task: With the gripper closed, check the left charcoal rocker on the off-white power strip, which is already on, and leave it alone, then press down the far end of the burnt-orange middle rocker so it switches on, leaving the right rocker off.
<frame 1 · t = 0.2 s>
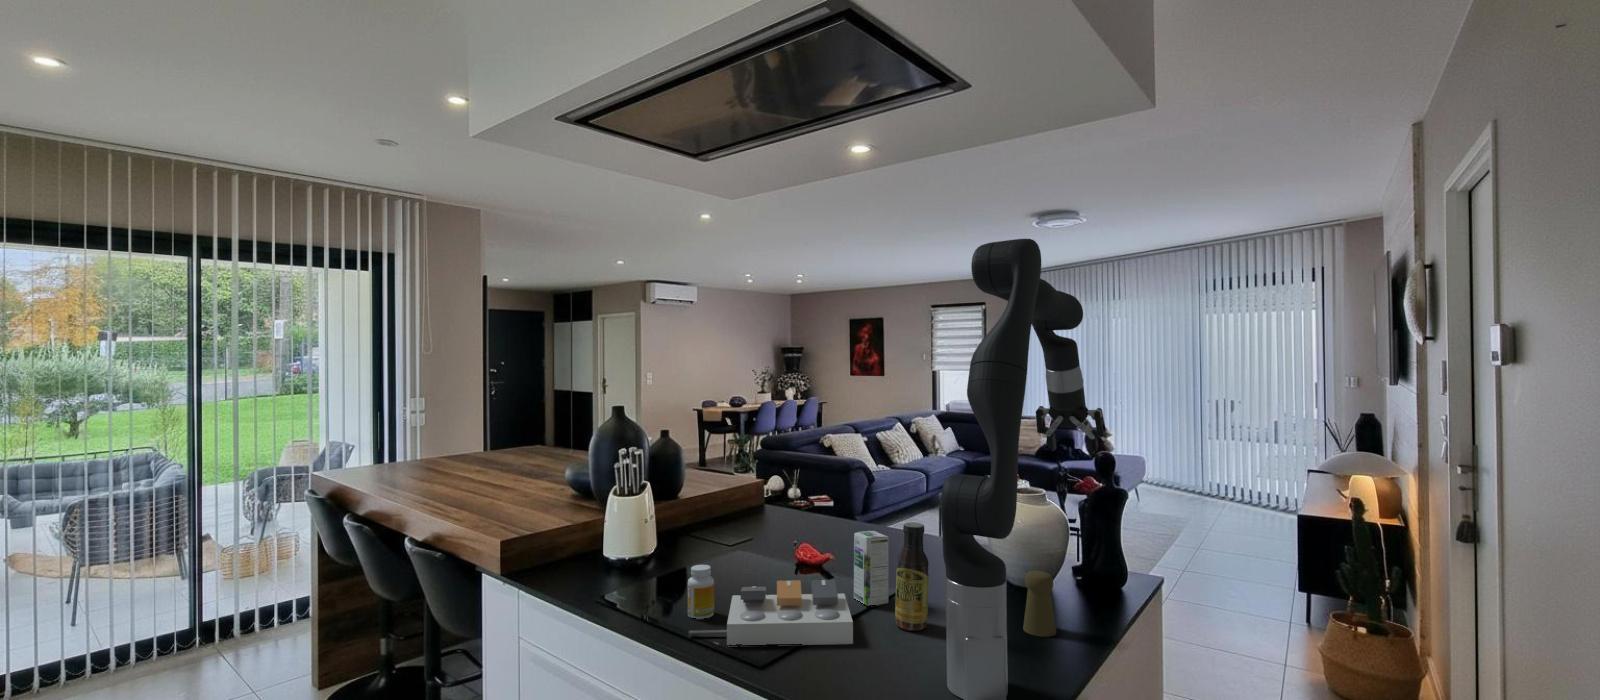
hand: (1073, 450, 148), 31 cm above the worktop, tool tilted 20°, fingers open, 8 cm apart
power strip: (789, 628, 126), on the worktop
supplement bottle: (700, 616, 133), on the worktop
syrup box: (871, 602, 140), on the worktop
yellow pepper mill: (1039, 631, 124), on the worktop
rocker a: (753, 595, 128), point 6 cm above the worktop, hinge at 12.0°
sauce bottle: (912, 627, 127), on the worktop
rocker c: (824, 594, 129), point 6 cm above the worktop, hinge at -12.0°
rocker b: (789, 594, 128), point 6 cm above the worktop, hinge at -12.0°
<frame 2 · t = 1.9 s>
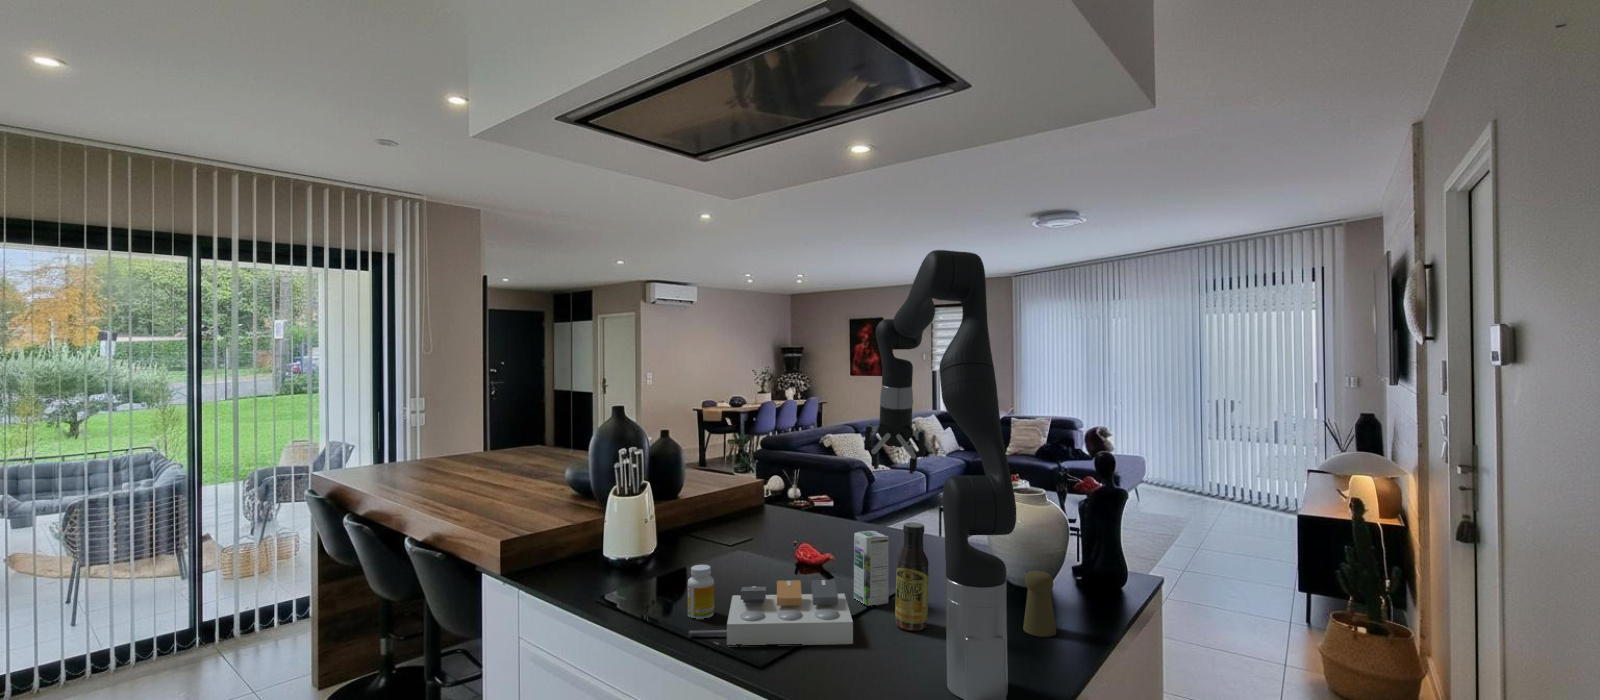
hand: (893, 470, 154), 26 cm above the worktop, tool pointing down, fingers open, 8 cm apart
nothing on the worktop moved.
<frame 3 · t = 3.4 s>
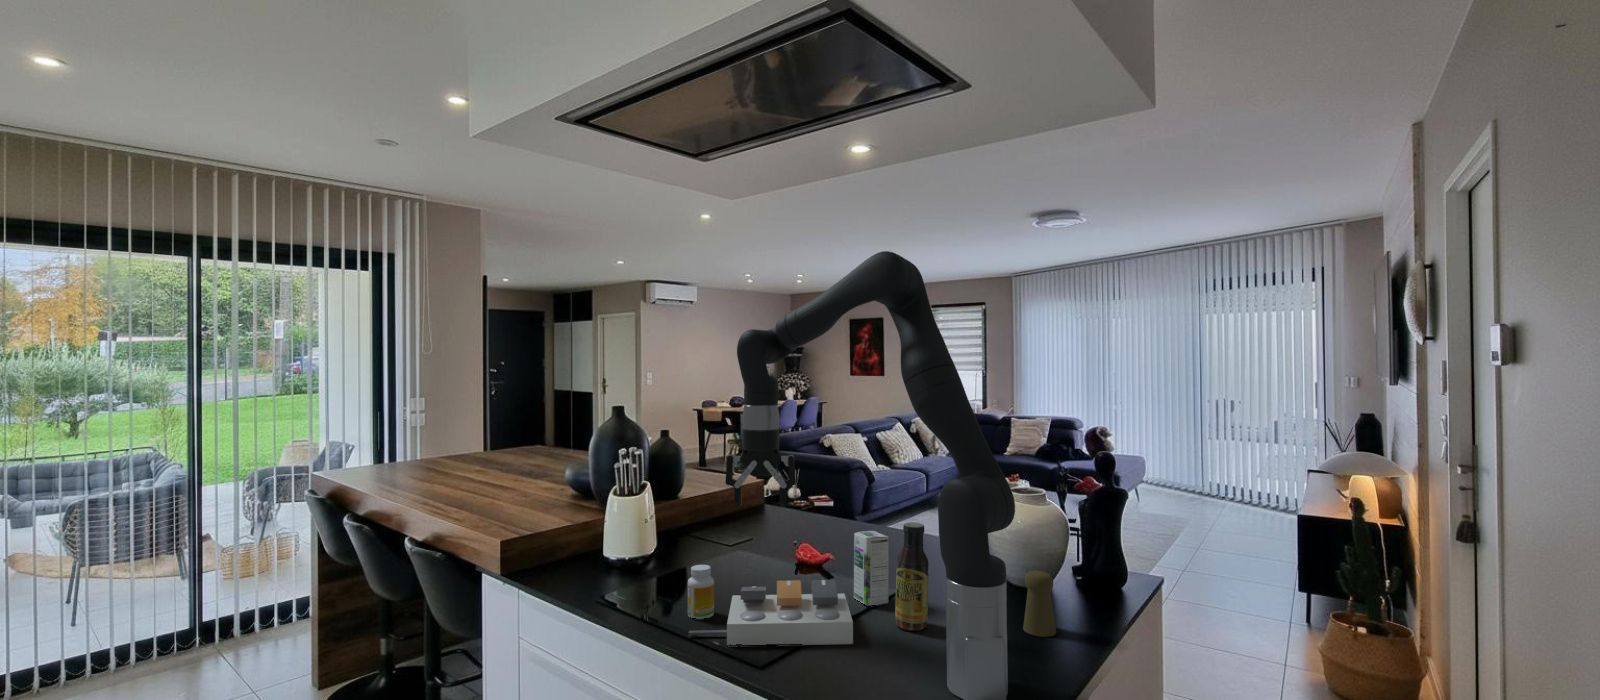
hand: (760, 505, 133), 22 cm above the worktop, tool pointing down, fingers open, 8 cm apart
nothing on the worktop moved.
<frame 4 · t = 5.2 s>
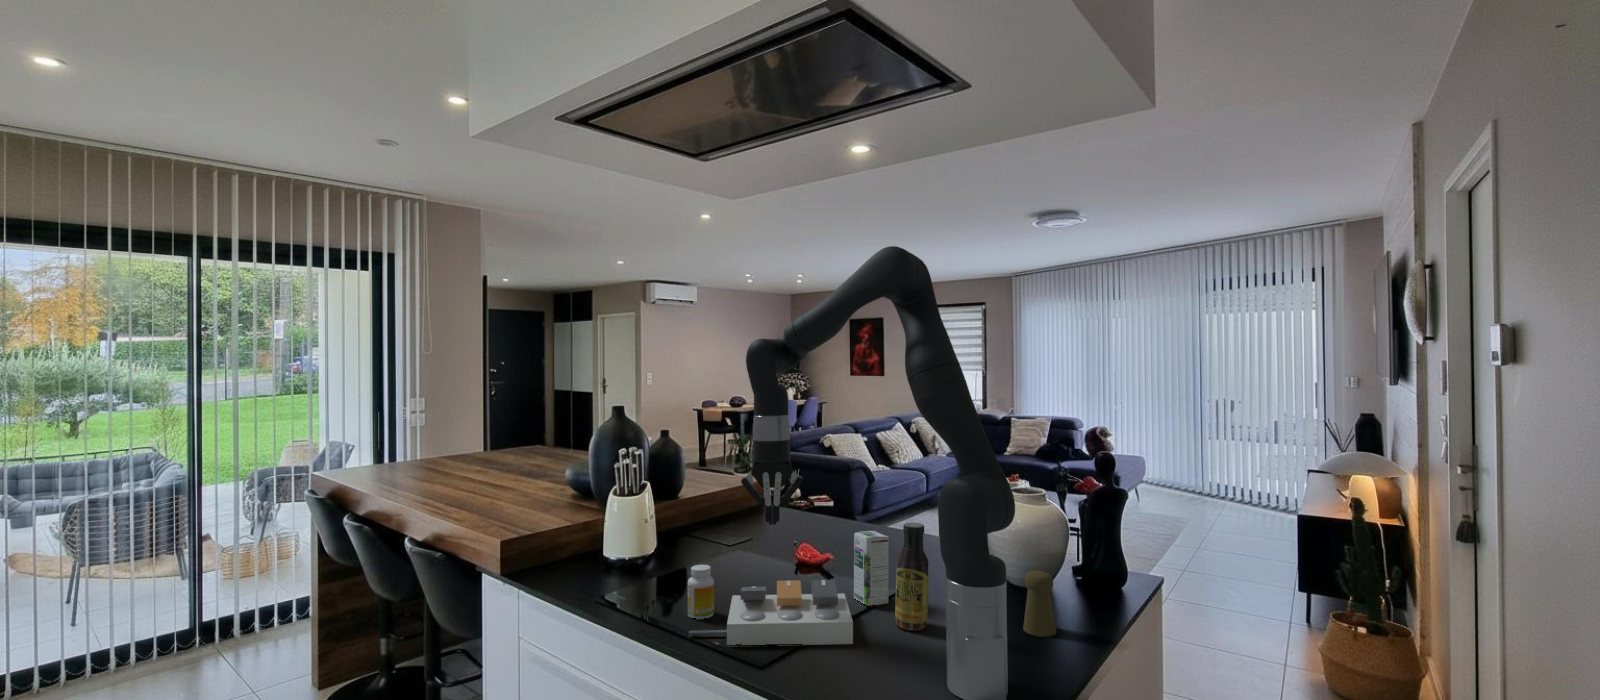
hand: (772, 523, 130), 19 cm above the worktop, tool pointing down, fingers closed
nothing on the worktop moved.
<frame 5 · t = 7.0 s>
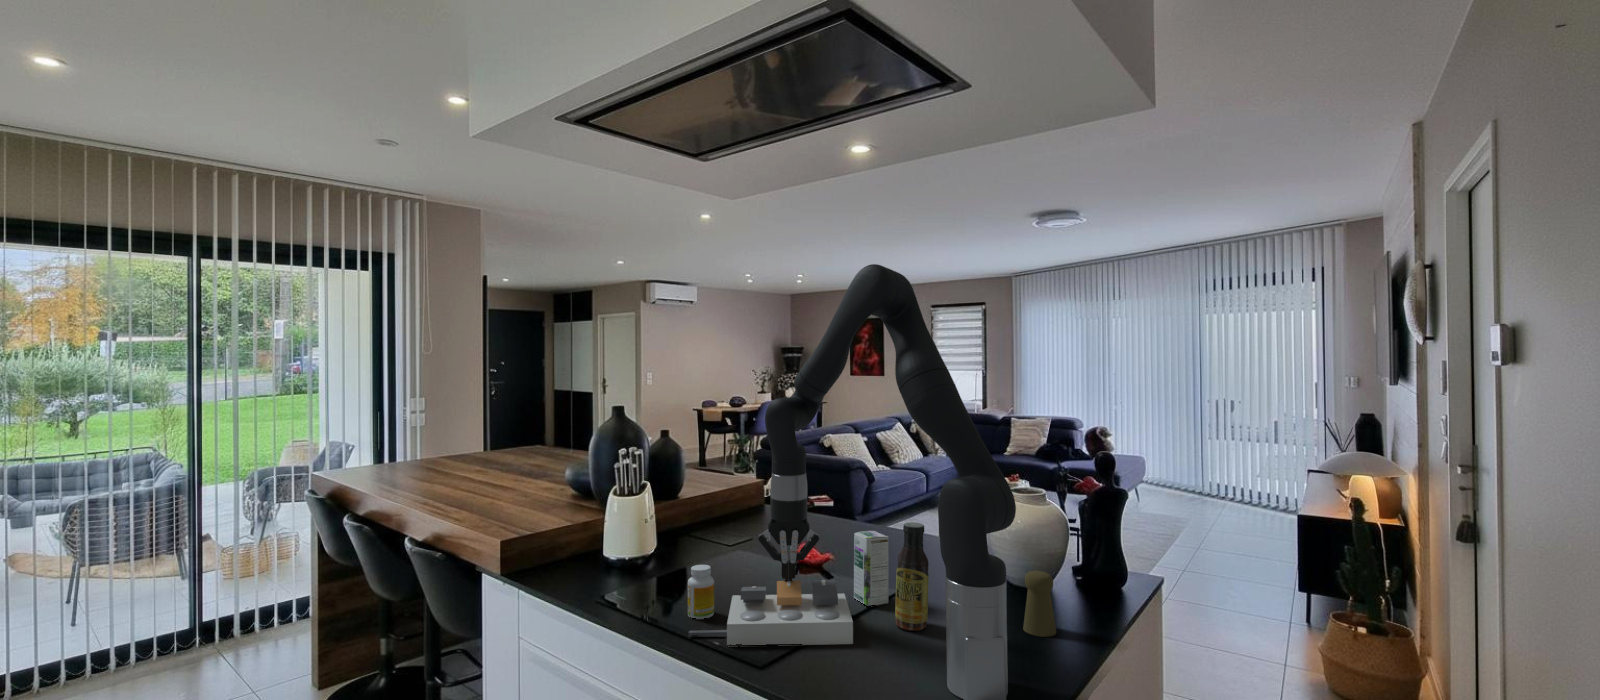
hand: (788, 580, 132), 7 cm above the worktop, tool pointing down, fingers closed
rocker b: (789, 594, 128), point 6 cm above the worktop, hinge at -9.9°, touching gripper
everything else where it was.
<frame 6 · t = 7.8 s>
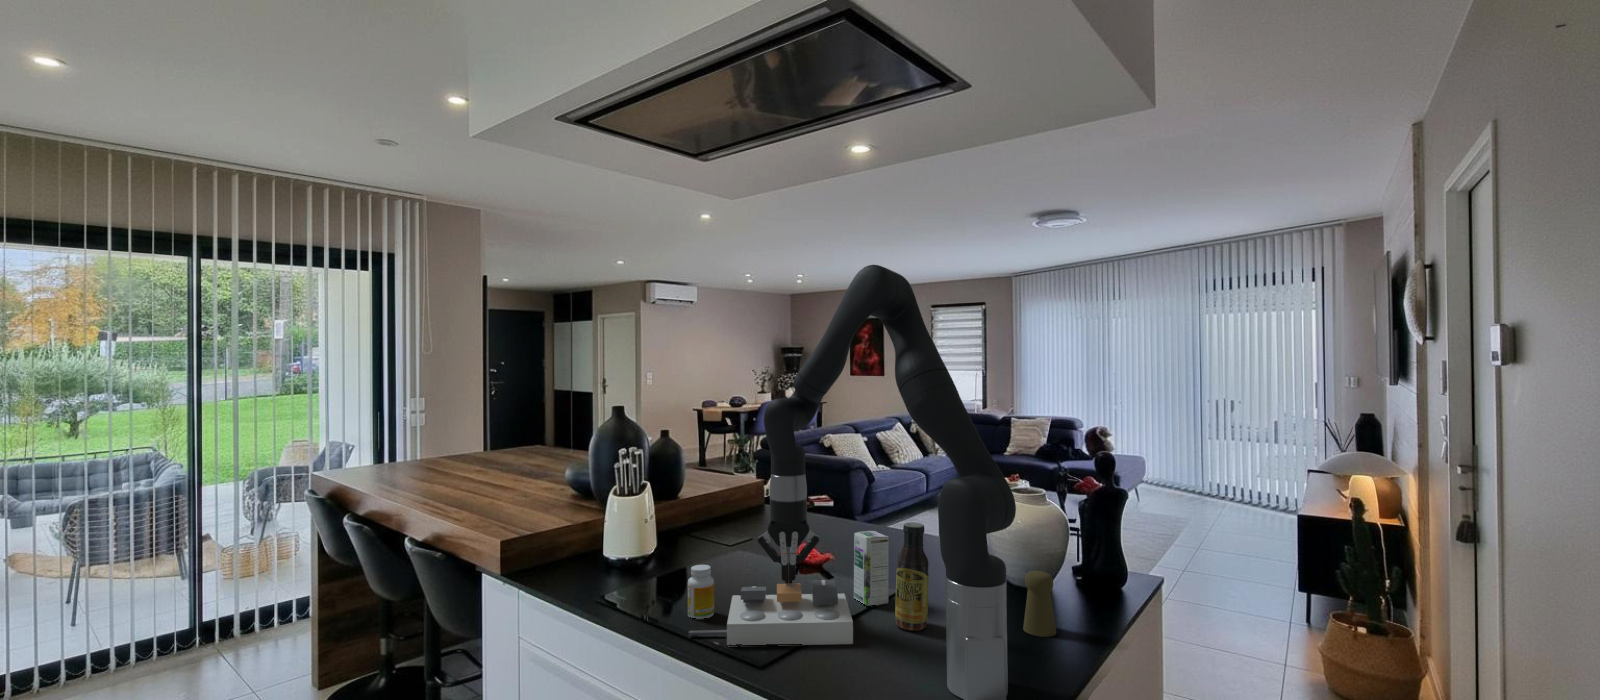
hand: (788, 582, 131), 7 cm above the worktop, tool pointing down, fingers closed
rocker b: (789, 594, 128), point 6 cm above the worktop, hinge at 1.9°
everything else where it was.
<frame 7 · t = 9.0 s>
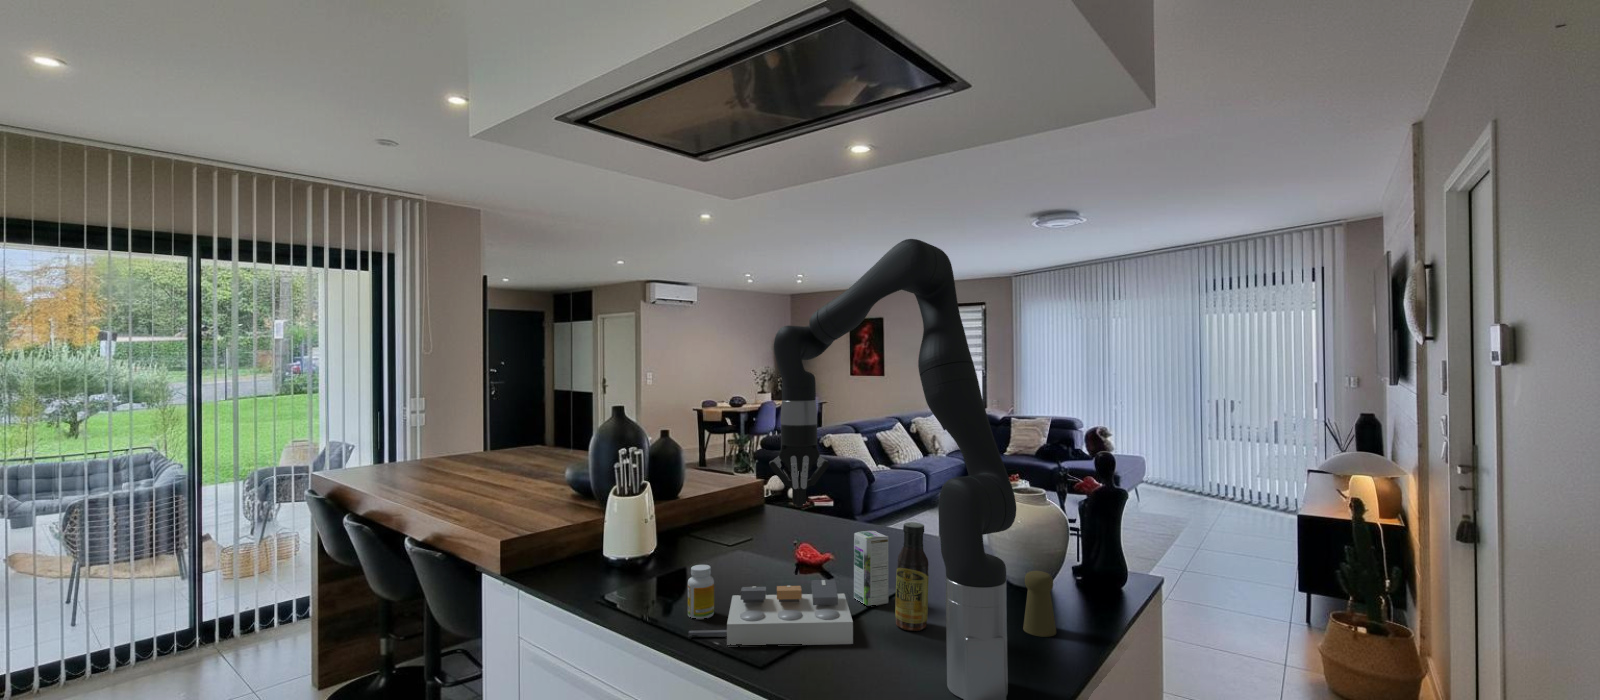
hand: (799, 506, 134), 22 cm above the worktop, tool pointing down, fingers closed
rocker b: (789, 594, 128), point 6 cm above the worktop, hinge at 10.8°
everything else where it was.
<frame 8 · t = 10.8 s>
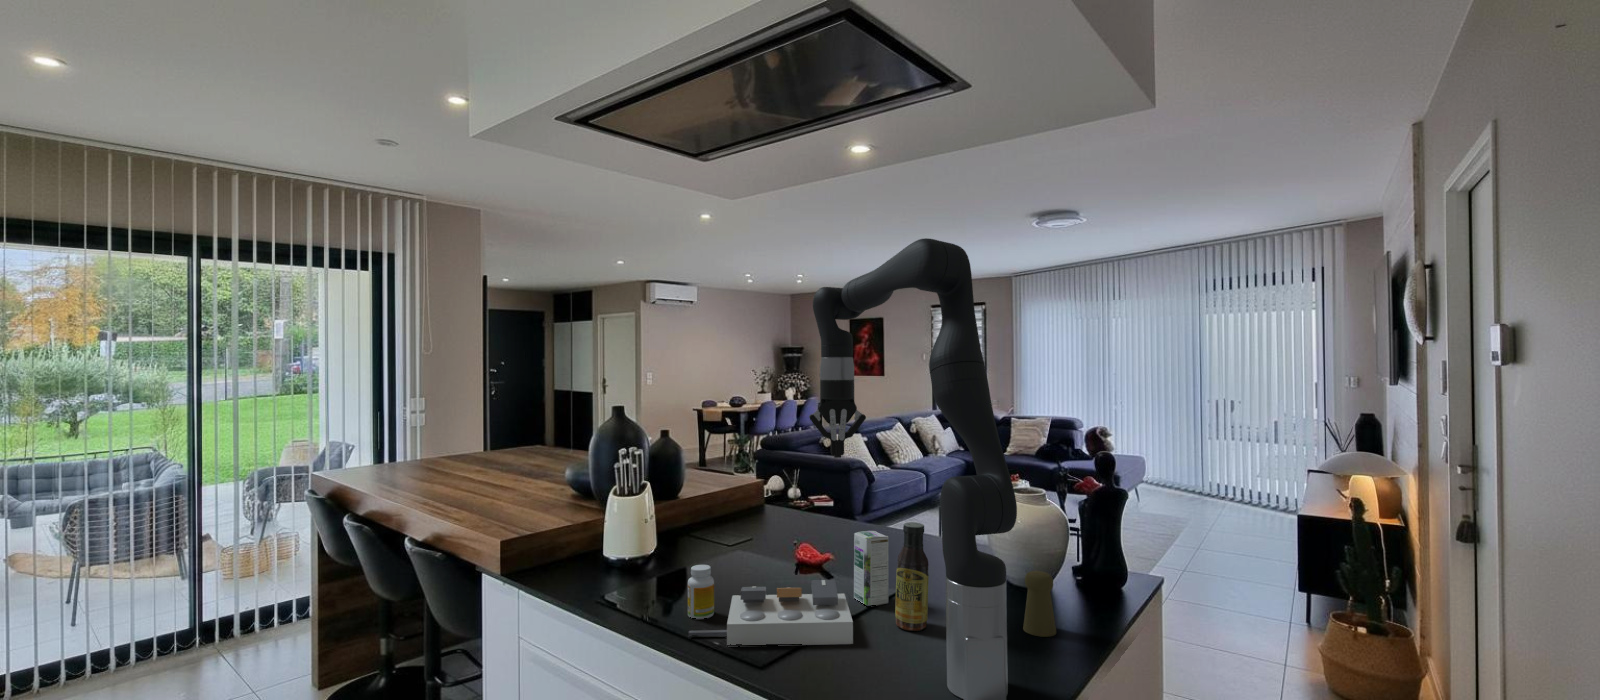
hand: (837, 457, 142), 31 cm above the worktop, tool pointing down, fingers closed
rocker b: (789, 594, 128), point 6 cm above the worktop, hinge at 17.6°
everything else where it was.
at the end: rocker b at +18° (first picture: -12°); rocker a at +12° (first picture: +12°); rocker c at -12° (first picture: -12°) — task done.
